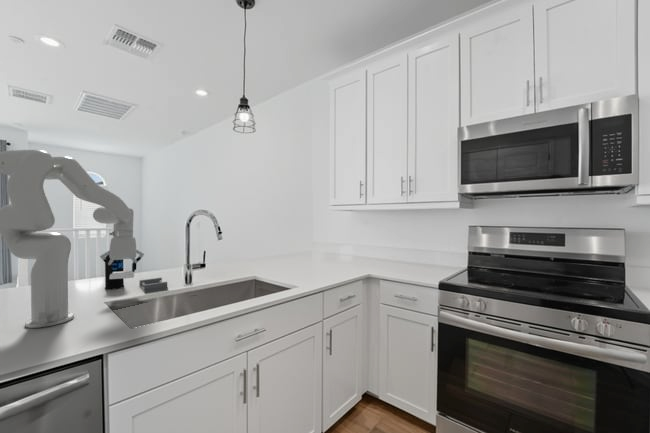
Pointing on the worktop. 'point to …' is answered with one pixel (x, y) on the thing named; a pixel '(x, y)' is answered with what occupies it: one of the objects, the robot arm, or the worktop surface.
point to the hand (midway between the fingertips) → (122, 272)
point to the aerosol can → (117, 267)
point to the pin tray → (153, 285)
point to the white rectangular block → (122, 275)
